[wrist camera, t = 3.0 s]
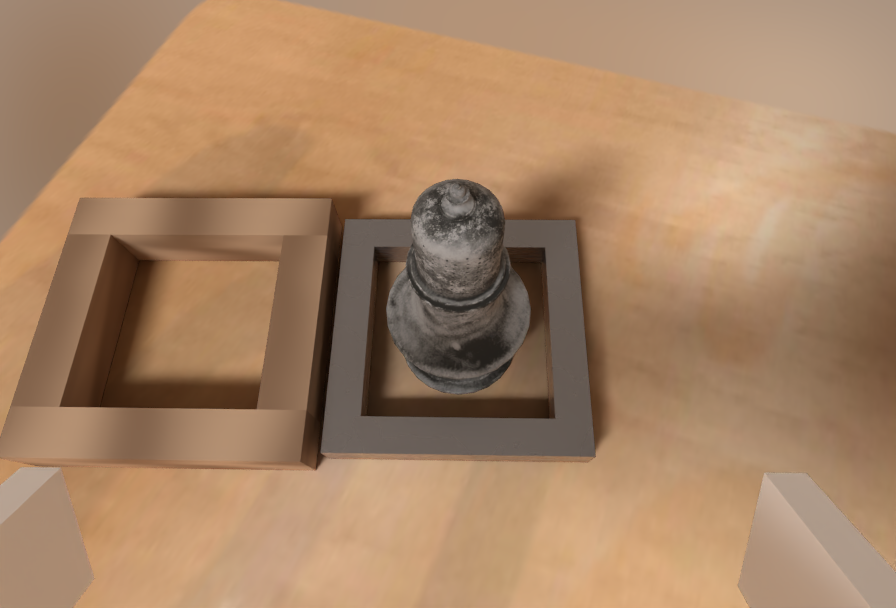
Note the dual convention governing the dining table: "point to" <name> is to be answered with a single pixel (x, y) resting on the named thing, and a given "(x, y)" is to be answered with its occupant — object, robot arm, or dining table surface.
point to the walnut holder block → (100, 319)
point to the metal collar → (454, 436)
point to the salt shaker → (458, 291)
